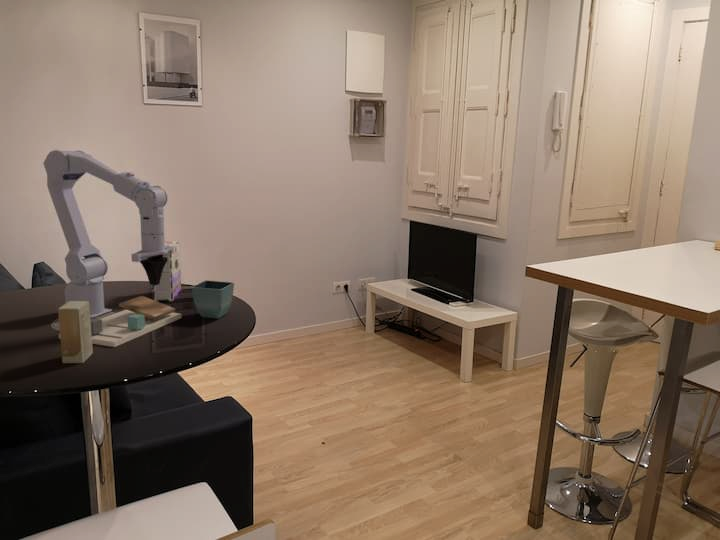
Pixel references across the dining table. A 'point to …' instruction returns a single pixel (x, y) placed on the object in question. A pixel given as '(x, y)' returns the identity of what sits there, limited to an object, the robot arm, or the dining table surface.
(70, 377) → the dining table surface
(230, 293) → the flower pot
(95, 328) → the graphite slider
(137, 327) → the teal slider
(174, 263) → the candy box
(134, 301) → the panel
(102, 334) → the panel
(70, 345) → the skincare box
